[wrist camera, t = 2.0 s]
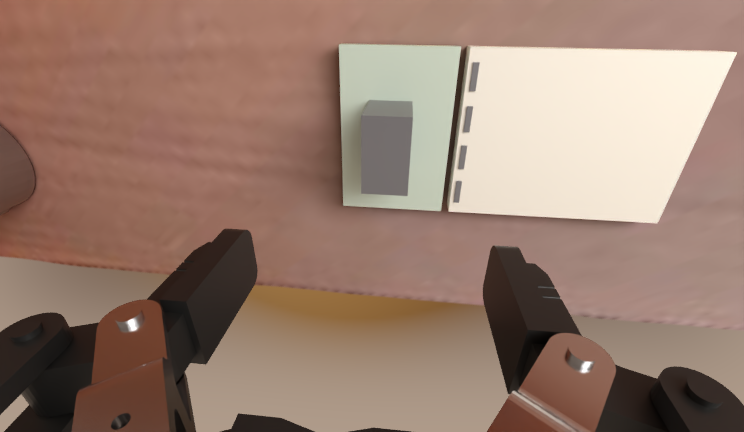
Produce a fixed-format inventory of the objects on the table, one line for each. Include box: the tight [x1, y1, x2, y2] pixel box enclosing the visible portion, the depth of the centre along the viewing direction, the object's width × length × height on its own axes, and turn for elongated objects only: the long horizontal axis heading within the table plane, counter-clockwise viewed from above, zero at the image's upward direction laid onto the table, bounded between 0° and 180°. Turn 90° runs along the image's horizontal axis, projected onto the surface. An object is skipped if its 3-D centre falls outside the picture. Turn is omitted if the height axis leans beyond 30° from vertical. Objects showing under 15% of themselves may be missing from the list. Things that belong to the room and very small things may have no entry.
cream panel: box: [447, 46, 737, 223], centre depth 25 cm, size 16×12×2 cm
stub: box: [339, 43, 461, 211], centre depth 24 cm, size 8×12×6 cm, turn 179°
